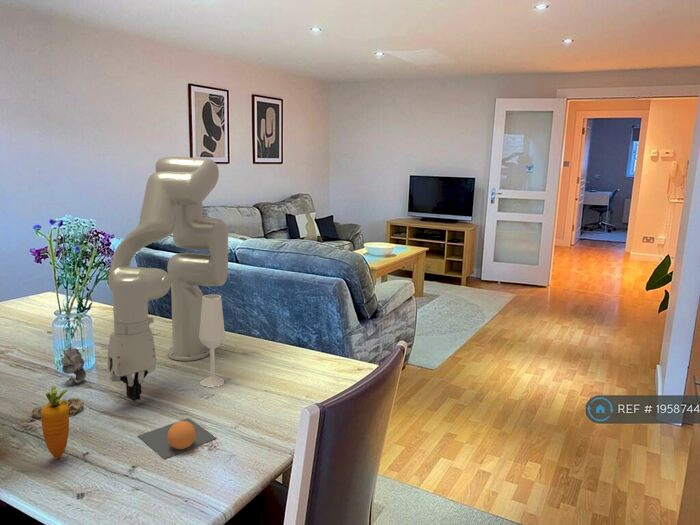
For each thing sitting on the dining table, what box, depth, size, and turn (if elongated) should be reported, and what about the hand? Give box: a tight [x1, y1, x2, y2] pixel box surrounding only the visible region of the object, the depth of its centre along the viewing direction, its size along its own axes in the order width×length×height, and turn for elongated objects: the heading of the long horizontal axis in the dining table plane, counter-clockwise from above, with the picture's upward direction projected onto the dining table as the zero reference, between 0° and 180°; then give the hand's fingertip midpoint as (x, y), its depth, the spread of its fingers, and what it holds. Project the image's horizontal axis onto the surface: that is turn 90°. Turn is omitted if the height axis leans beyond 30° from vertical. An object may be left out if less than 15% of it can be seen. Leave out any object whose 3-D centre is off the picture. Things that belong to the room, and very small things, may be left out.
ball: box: [167, 420, 196, 449], centre depth 107 cm, size 6×6×6 cm
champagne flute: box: [199, 294, 226, 387], centre depth 138 cm, size 7×7×24 cm
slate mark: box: [137, 417, 218, 460], centre depth 111 cm, size 12×12×1 cm
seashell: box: [60, 346, 87, 385], centre depth 135 cm, size 5×5×10 cm
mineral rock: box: [31, 397, 85, 420], centre depth 120 cm, size 11×4×8 cm
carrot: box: [40, 385, 70, 460], centre depth 100 cm, size 5×5×15 cm
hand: (134, 398), depth 125 cm, fingers closed
